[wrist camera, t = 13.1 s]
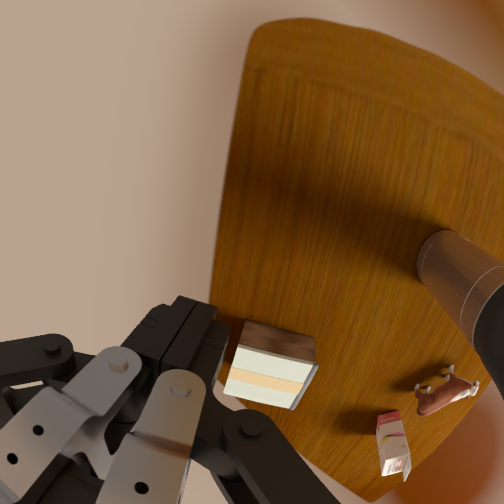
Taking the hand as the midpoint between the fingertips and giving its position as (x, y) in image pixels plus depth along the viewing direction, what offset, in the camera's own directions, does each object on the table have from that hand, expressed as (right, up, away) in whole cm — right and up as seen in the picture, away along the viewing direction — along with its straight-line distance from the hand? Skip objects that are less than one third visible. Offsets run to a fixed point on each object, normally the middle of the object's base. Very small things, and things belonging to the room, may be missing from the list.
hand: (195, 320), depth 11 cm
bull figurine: (+38, -21, +32) cm, 54 cm away
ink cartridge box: (+31, -34, +37) cm, 59 cm away
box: (+5, -14, +34) cm, 37 cm away
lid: (+5, -16, +28) cm, 33 cm away
